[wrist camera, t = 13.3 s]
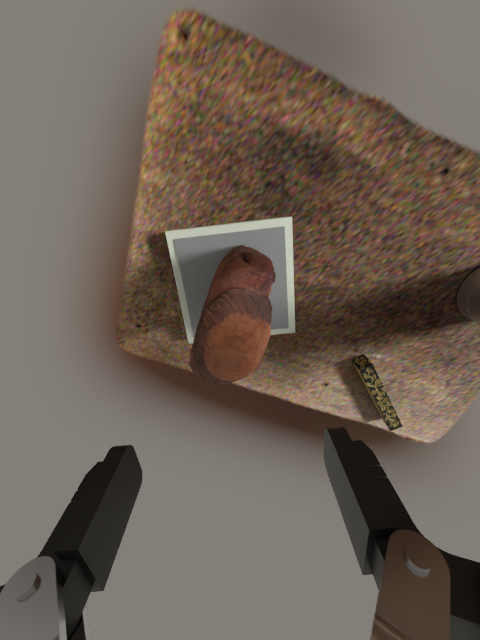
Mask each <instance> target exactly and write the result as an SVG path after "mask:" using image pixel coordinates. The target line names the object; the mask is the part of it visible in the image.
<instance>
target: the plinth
mask: <svg viewBox="0 0 480 640" xmlns="http://www.w3.org/2000/svg"><path fill="white" fill-rule="evenodd" d="M165 234H166V239H167V243H168V248H169V253H170V258H171V262H172V267H173V272H174V277H175V281H176V286H177V291H178V295H179V300H180V305H181V310H182V314H183V319H184V324H185V329H186V333H187V338H188V343H193V341H194V337H195V332H196V328H197V325H198V321H199V319H200V315H201V311H202V309H203V305H204V303H205V300H206V298H207V295H208V291H209V288H210V285H211V282H212V279H213V277H214V275H215V273H216V270H217V268H218V266H219V264H220V262H221V261H222V260H223V258H224V257H225V256H226V254H227V253H228V252H229V251H230V250H231V249H233V248H234V247H236V246H240V245H244V246H246V247H251V248H253V249H255V250H258V251H259V252H260V253H262V254H264V255H266V256H267V257H269V258H270V259H271V261H272V263H273V267H274V272H275V274H276V277H275V282H274V283H272V286H271V293H270V295H269V297H268V298H269V300H270V302H271V305H272V319H271V326H270V329H271V334H270V335H277V334H286V333H295V305H294V270H293V235H292V217H279V218H271V219H262V220H254V221H245V222H237V223H228V224H220V225H211V226H203V227H194V228H186V229H177V230H170V231H166V232H165Z"/></svg>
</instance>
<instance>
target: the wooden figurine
mask: <svg viewBox="0 0 480 640" xmlns="http://www.w3.org/2000/svg"><path fill="white" fill-rule="evenodd" d="M275 277H276V274H275V272H274V267H273V263H272V261H271V259H270V258H269V257H267V256H266V255H264V254H262V253H260V252H259V251H258V250H255V249H253V248H251V247H246V246H244V245H240V246H236V247H234V248H233V249H231V250H230V251H229V252H228V253H227V254H226V256H225V257H224V258H223V260H222V261H221V262H220V264H219V266H218V268H217V270H216V273H215V275H214V277H213V279H212V282H211V285H210V288H209V291H208V295H207V298H206V300H205V303H204V305H203V309H202V311H201V315H200V319H199V321H198V325H197V328H196V332H195V337H194V341H193V345H192V349H191V357H190V366H191V369H192V371H193V372H194V373H195V374H196V375H197V376H201V377H203V378H205V379H207V380H210V381H212V382H214V383H220V384H227V383H231V382H234V381H237V380H240V379H242V378H244V377H246V376H248V375H249V374H250V373H251V372H252V371H253V370H254V369H255V368H256V367H257V366H258V364H259V363H260V362H261V360H262V357H263V355H264V352H265V349H266V347H267V344H268V341H269V338H270V334H271V329H270V326H271V319H272V305H271V302H270V300H269V298H268V297H269V295H270V293H271V286H272V283H274V282H275Z"/></svg>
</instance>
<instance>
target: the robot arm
mask: <svg viewBox="0 0 480 640" xmlns="http://www.w3.org/2000/svg"><path fill="white" fill-rule="evenodd" d="M456 303H457V308H458V310H459V312H460V313H461V314H462V315H463V316H465V317H466V318H468V319H470V320H473V321H475V322H477V323H479V324H480V267H479V268H478V269H476V270H475V271H473V272H472V273H471V274H470V275H469V276H468V277H467V278H466V279H465V280H464V282H463V283H462V285H461V287H460V288H459V291H458V294H457V300H456ZM324 432H325V434H324V460H325V466H326V470H327V473H328V476H329V479H330V481H331V484H332V487H333V490H334V493H335V496H336V499H337V502H338V505H339V508H340V510H341V513H342V516H343V519H344V522H345V525H346V528H347V531H348V534H349V536H350V539H351V542H352V545H353V548H354V551H355V554H356V557H357V560H358V563H359V565H360V568H361V571H362V574H363V575H367V574H368V575H369V574H373V576H374V579H375V581H376V584H377V587H378V589H379V593H378V598H377V604H376V609H375V614H374V620H373V625H372V631H371V636H370V640H480V563H479V562H475V561H472V560H468V559H465V558H461V557H458V556H454V555H452V554H448V553H447V552H445V551H442V550H441V549H439V548H437V547H436V546H435V545H434V544H433V543H431V542H430V541H429V540H428V539H427V538H425V537H424V536H423V535H422V534H421V533H420V531H419V530H418V529H417V528H416V526H415V525H414V523H413V522H412V519H411V518H410V516H409V514H408V512H407V511H406V509H405V507H404V505H403V504H402V502H401V500H400V498H399V496H398V495H397V493H396V491H395V490H394V488H393V486H392V484H391V482H390V481H389V479H388V478H387V476H386V474H385V472H384V470H383V468H382V467H381V466H380V463H379V462H378V460H377V458H376V456H375V454H374V453H373V451H372V450H371V449H370V448H369V447H368V446H367V445H366V444H364V443H363V442H362V441H361V440H357V441H352V440H351V438H350V436H349V434H348V432H347V430H346V429H345V428H344V427H339V428H326V429H325V431H324ZM141 483H142V469H141V466H140V463H139V461H138V458H137V455H136V453H135V450H134V448H133V446H132V445H126V446H114V447H112V448H111V449H110V450H109V452H108V453H107V455H106V457H105V459H104V461H103V462H98V463H97V464H96V465H95V466H94V467H93V468H92V469H91V470H90V471H89V472H88V473H87V474H86V475H85V477H84V479H83V481H82V482H81V484H80V486H79V488H78V491H76V493H75V494H74V496H73V498H72V500H71V503H69V505H68V506H67V508H66V510H65V512H64V513H63V515H62V517H61V518H60V520H59V522H58V524H57V525H56V527H55V529H54V530H53V532H52V534H51V536H50V537H49V539H48V541H47V542H46V544H45V546H44V548H43V549H42V551H41V552H40V554H39V556H38V557H37V558H35V559H33V560H31V561H29V562H28V563H26V564H25V565H23V566H22V567H21V568H20V569H19V570H18V571H17V572H16V573H15V574H14V575H13V576H12V577H11V578H10V579H9V581H8V582H7V583H6V584H5V585H3V586H0V640H91V639H90V633H89V624H88V617H87V610H86V607H85V604H86V602H87V599H88V596H89V594H90V592H95V591H103V590H104V588H105V585H106V582H107V579H108V576H109V573H110V571H111V568H112V565H113V562H114V560H115V557H116V554H117V551H118V548H119V546H120V543H121V540H122V537H123V534H124V532H125V528H126V526H127V523H128V520H129V517H130V514H131V512H132V509H133V506H134V504H135V500H136V498H137V495H138V492H139V489H140V486H141Z"/></svg>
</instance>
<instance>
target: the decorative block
mask: <svg viewBox="0 0 480 640" xmlns="http://www.w3.org/2000/svg"><path fill="white" fill-rule="evenodd" d="M352 362H353V364H354V366H355V368H356V370H357V372H358V374H359V375H360V377H361V379H362V381H363V383H364V385H365V387H366V389H367V391H368V393H369V395H370V397H371V399H372V400H373V402H374V404H375V406H376V408H377V410H378V412H379V414H380V416H381V418H382V419H383V421H384V422H385V424H386V425H387V427H388V428H389V430H390V431H392V430H395V429H397V428H398V427H399V428H400V427H402V424H401V422H400V419H399V417H398V416H397V413H396V411H395V409H394V407H393V406H392V404H391V401H390V399H389V396H388V395H387V393H386V391H385V390H384V387H383V383H382V382H381V380H380V378H379V376H378V374H377V373H376V371H375V367H374V365H373V364H372V363H371V362H370V360H369V359H368V358H366V356H365V355H364V354H363V355H361V356H359V357H357V358H355V359H354V360H352Z"/></svg>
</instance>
